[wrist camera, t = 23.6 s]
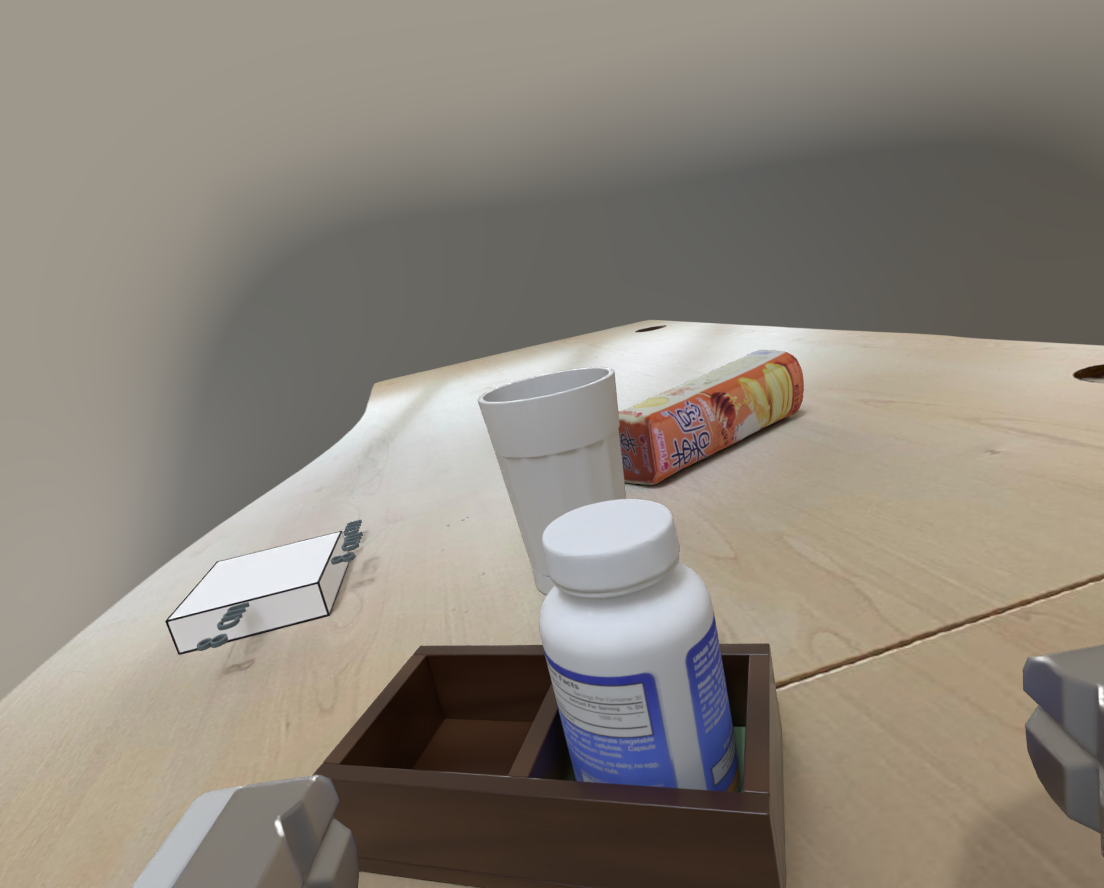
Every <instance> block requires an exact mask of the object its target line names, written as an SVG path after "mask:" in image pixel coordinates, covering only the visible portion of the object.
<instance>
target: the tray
mask: <svg viewBox="0 0 1104 888" xmlns="http://www.w3.org/2000/svg"><path fill="white" fill-rule="evenodd" d="M719 646H720V652H721V658H722V664H723V670H724V676H725V682H726V688H727V694H728V700H729V706H730V712H731V717H732V724H733V730H734V735H735V743H736V748H737V754H738V760H739V769H740V788H739V792H726V791H712V790H698V789H683V788H669V787H654V786H640V785H626V784H611V783H597V782H582V781H576V778H575V774H574V770H573V766H572V762H571V758H570V754H569V750H568V745H567V741H566V737H565V733H564V729H563V725H562V721H561V717H560V713H559V709H558V705H557V701H556V697H555V693H554V689H553V685H552V681H551V677H550V673H549V669H548V664H547V660H546V657H545V652H544V648H543V645H467V646H420V647H419V648H418V649H417V650H416V652H415V653H414V654H413V655H412V656H411V658H410V659H409V660H408V661H407V662H406V664H405V665H404V666H403V667H402V668H401V670H400V671H399V672H398V673H397V674H396V676H395V677H394V678H393V679H392V680H391V682H390V683H389V684H388V685H387V686H386V687H385V689H384V690H383V691H382V692H381V693H380V695H379V696H378V697H377V698H376V699H375V701H374V702H373V703H372V704H371V705H370V707H369V708H368V709H367V710H366V711H365V713H364V714H363V715H362V716H361V717H360V719H359V720H358V721H357V722H356V723H355V725H354V726H353V727H352V728H351V729H350V731H349V732H348V733H347V734H346V735H345V737H344V738H343V739H342V740H341V741H340V743H339V744H338V745H337V746H336V747H335V749H334V750H333V751H332V752H331V753H330V755H329V756H328V757H327V758H326V759H325V761H324V762H323V764H321V766H320V767H319V768H318V769H317V770H316V772H315V773H314V774H313V775H312V776H314V775H322V776H325V777H327V778H330V779H331V781H332V783H333V786H334V788H335V790H336V793H337V795H338V798H339V800H340V802H339V804H338V807H337V809H336V812H335V814H334V817H333V818H335V819H336V820H337V821H339V822H340V823H341V824H343V825H344V826H345V827H347V828H348V829H349V830H351V832H352V835H353V838H354V841H355V844H356V847H357V853H358V860H359V868H360V869H359V871H366V872H374V873H381V874H388V875H396V876H403V877H411V878H418V879H425V880H433V881H440V882H447V883H455V884H462V885H470V886H477V887H484V888H786V877H785V837H784V797H783V757H782V729H781V722H780V715H779V708H778V701H777V693H776V686H775V679H774V672H773V665H772V658H771V651H770V645H769V644H719Z"/></svg>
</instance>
